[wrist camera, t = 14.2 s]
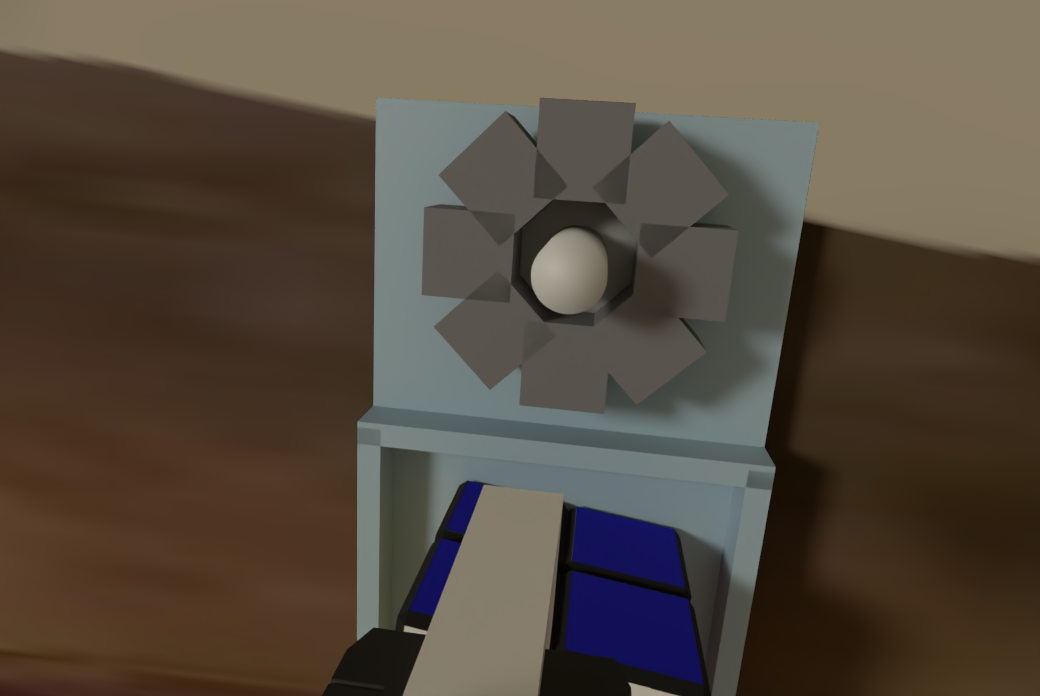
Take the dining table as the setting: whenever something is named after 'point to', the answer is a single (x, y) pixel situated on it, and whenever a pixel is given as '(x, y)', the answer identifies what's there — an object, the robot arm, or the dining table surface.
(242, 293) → the dining table surface
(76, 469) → the dining table surface
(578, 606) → the puzzle cube
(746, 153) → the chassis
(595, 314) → the wheel
